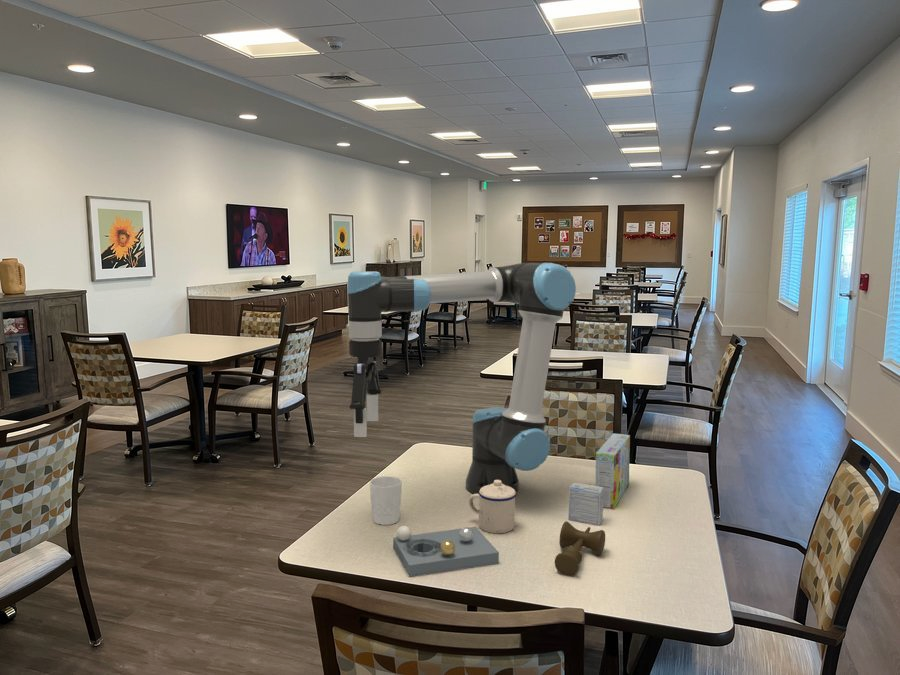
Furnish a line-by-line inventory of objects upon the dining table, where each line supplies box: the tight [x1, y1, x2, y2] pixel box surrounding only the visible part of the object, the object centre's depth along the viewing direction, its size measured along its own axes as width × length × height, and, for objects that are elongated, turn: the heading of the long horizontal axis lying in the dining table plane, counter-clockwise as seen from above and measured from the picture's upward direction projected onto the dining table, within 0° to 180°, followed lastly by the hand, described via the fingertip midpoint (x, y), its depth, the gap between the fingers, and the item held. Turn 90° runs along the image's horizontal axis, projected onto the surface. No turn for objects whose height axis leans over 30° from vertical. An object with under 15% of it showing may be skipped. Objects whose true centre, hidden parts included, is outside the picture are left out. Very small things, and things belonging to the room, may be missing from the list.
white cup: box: [369, 475, 403, 526], centre depth 163 cm, size 8×8×10 cm
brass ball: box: [440, 540, 455, 556], centre depth 139 cm, size 3×3×3 cm
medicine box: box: [567, 482, 604, 526], centre depth 164 cm, size 8×4×9 cm, turn 65°
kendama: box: [554, 520, 606, 577], centre depth 144 cm, size 6×10×20 cm
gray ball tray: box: [392, 526, 500, 578], centre depth 144 cm, size 20×14×2 cm
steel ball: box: [459, 526, 473, 542], centre depth 146 cm, size 3×3×3 cm
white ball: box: [396, 525, 412, 541], centre depth 146 cm, size 3×3×3 cm
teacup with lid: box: [468, 480, 517, 534], centre depth 160 cm, size 12×9×12 cm
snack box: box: [594, 433, 631, 510], centre depth 181 cm, size 21×6×15 cm, turn 154°
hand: (366, 428), depth 153 cm, fingers open, 13 cm apart
